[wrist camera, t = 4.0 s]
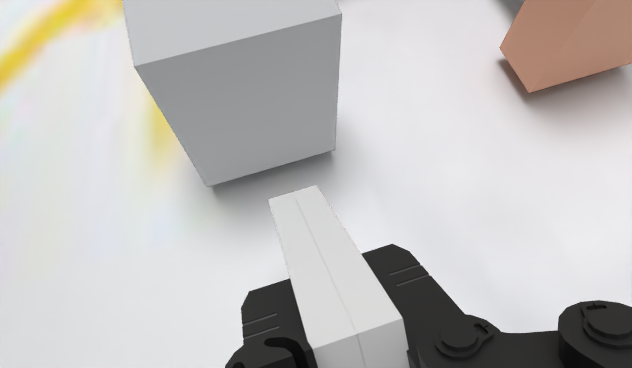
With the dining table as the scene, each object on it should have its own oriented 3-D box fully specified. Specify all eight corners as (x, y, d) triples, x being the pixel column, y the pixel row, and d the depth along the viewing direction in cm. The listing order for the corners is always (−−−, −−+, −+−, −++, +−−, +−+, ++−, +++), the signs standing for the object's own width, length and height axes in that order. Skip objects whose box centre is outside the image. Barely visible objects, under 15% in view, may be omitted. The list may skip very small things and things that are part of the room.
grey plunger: (335, 149, 19) (342, 13, 12) (207, 187, 19) (133, 66, 12) (264, -30, 24) (239, -202, 17) (161, -6, 24) (90, -174, 17)
